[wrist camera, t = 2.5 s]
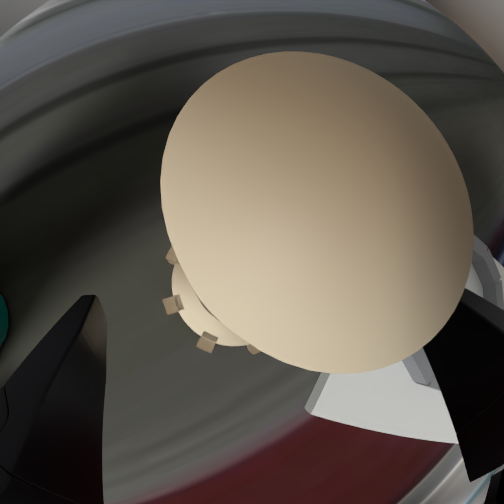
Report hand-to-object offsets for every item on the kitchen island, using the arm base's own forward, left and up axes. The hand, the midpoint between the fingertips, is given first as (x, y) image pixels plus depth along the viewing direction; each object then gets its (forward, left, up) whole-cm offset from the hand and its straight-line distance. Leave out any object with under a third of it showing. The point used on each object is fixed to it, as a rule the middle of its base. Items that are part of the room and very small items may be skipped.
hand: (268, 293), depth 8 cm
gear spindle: (+1, 0, -9) cm, 9 cm away
